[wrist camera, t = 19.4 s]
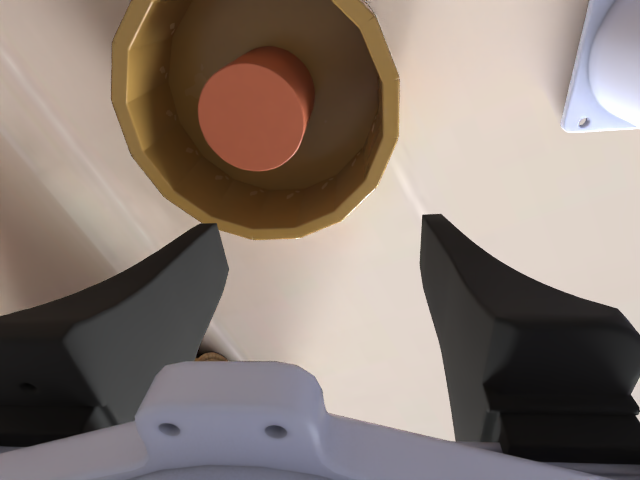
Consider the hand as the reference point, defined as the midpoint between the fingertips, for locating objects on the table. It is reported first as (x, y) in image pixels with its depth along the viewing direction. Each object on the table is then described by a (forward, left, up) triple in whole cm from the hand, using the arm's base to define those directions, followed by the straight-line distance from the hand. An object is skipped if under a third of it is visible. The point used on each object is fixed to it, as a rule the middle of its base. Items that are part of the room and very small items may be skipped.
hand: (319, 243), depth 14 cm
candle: (+3, -3, -10) cm, 11 cm away
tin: (+3, -3, -10) cm, 11 cm away
